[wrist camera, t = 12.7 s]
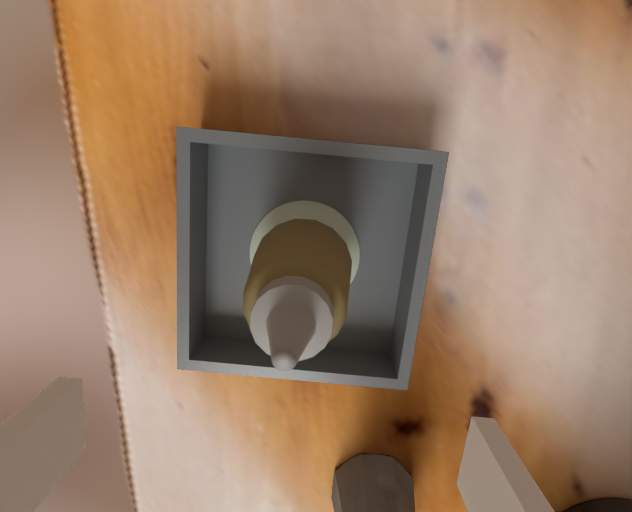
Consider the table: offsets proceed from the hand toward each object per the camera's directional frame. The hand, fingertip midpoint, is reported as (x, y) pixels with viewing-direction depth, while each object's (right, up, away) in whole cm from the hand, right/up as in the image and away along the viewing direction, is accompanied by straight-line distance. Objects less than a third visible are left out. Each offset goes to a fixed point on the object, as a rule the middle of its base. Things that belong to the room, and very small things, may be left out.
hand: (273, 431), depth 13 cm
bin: (0, +6, +23) cm, 24 cm away
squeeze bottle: (0, +6, +22) cm, 23 cm away
